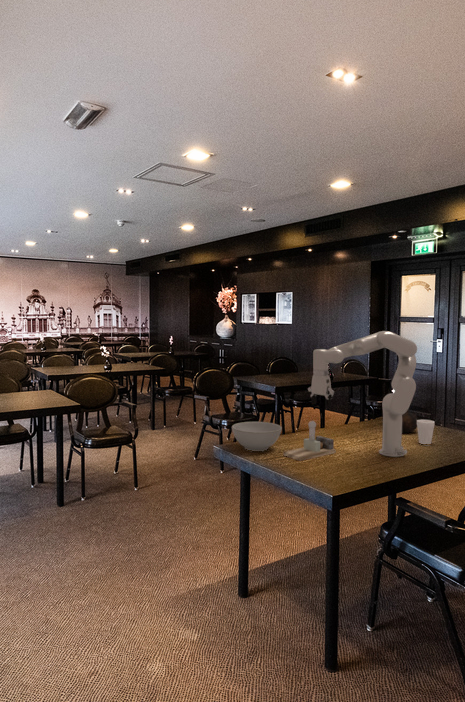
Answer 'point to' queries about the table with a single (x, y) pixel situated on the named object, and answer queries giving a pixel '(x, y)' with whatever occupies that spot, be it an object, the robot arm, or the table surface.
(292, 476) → the table surface
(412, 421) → the dark brown vase
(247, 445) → the decorative bowl
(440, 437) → the table surface
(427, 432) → the foam cup
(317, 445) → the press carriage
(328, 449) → the base
